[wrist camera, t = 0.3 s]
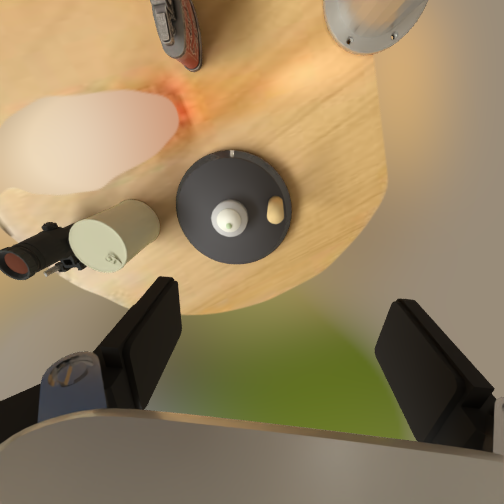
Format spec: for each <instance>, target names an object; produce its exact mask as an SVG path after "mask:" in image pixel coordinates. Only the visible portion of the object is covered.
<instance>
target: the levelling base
mask: <svg viewBox="0 0 504 504" xmlns="http://www.w3.org/2000/svg"><path fill="white" fill-rule="evenodd" d="M225 157H236V158H242V159H245V160H249V161H251V162H253V163H256V164H257V165H259V166H261V167H262V168H264V169H265V170H266V171H267V172H268V173H269V174H270V175H271V176H272V177H273V178H274V179H275V181H276V182H277V184H278V185H279V187H280V189H281V191H282V194H283V197H284V201H285V205H286V223H285V228H284V231H283V234H282V236H281V238H280V240H279V241H278V243H277V244H276V246H275V247H274V248H273V249H272V250H271V251H270V252H269V253H267V254H266V255H265V256H263V257H261V258H260V259H262V258H264V257H266V256H267V255H269V254H270V253H272V252H273V251H274V250H275V249H276V248H277V247H278V246H279V245H280V243H281V242H282V241H283V239H284V237H285V236H286V234H287V231H288V229H289V226H290V221H291V213H292V210H291V200H290V195H289V192H288V189H287V187H286V185H285V183H284V181H283V179H282V178H281V176H280V175H279V173H278V172H277V171H276V170H275V169H274V168H273V167H272V166H271V165H270V164H269V163H268V162H266V161H265V160H263V159H262V158H260V157H258V156H256V155H254V154H251V153H248V152H244V151H238V150H225V151H218V152H215V153H212V154H209V155H207V156H205V157H203V158H201V159H200V160H198V161H197V162H195V163H194V164H193V165H192V166H191V167H190V168H189V169H188V170H187V172H186V173H185V175H184V176H183V178H182V180H181V182H180V184H179V187H178V191H177V196H176V211H177V217H178V198H179V194H180V191H181V188H182V186H183V184H184V182H185V181H186V179H187V178H188V177H189V175H190V174H191V173H192V172H193V171H194V170H196V169H197V168H198V167H200V166H201V165H203V164H205V163H207V162H209V161H212V160H215V159H218V158H225ZM178 221H179V217H178ZM179 224H180V221H179ZM180 226H181V225H180ZM181 228H182V227H181ZM185 236H186V235H185ZM260 259H257V260H255V261H258V260H260ZM252 262H254V261H252ZM249 263H251V262H249ZM244 264H246V263H244Z"/></svg>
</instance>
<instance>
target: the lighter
mask: <svg viewBox="0 0 504 504" xmlns="http://www.w3.org/2000/svg"><path fill="white" fill-rule="evenodd" d="M150 2H151V4H152V11H153V16H154V20H155V24H156V28H157V32H158V35H159V38H160V41H161V43H162V46H163V49H164V51H165V53H166V54H167V55H169V56H170V57H172V58H174V59H177V60H178V61H179V62H181V63H182V64H183V65H184V67H185V68H186V69H187V70H189V71H191V72H196V71H198V70H199V69H200V68H201V66H202V42H201V33H200V28H199V23H198V18H197V15H196V11H195V8H194V5H193V3H192V1H191V0H150Z"/></svg>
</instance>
